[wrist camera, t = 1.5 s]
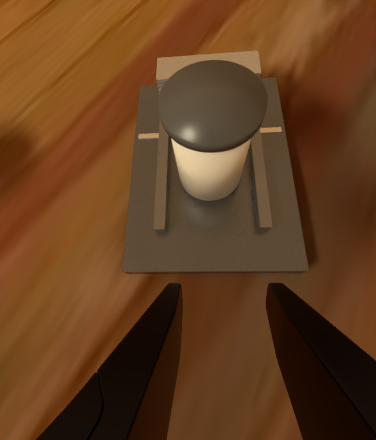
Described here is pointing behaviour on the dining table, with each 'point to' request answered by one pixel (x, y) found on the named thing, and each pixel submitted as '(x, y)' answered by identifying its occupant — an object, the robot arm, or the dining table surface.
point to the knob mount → (218, 209)
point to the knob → (212, 123)
